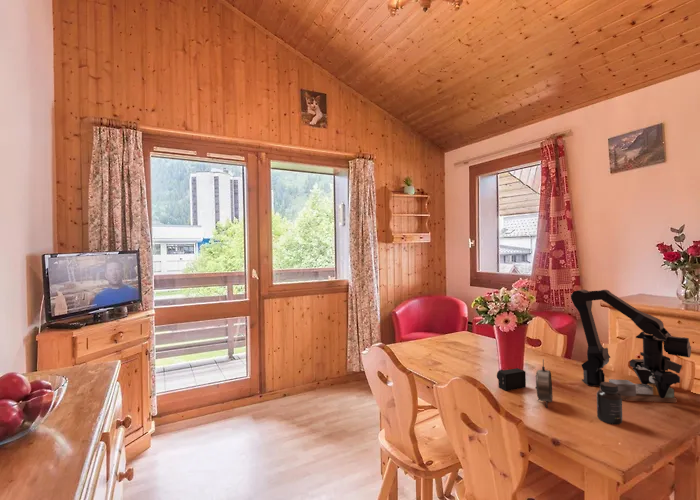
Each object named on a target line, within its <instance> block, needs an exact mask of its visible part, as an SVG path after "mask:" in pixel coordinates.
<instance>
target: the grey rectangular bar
mask: <svg viewBox="0 0 700 500" xmlns="http://www.w3.org/2000/svg"><path fill="white" fill-rule="evenodd" d="M634 384H635V385H636V394H651V395H659V393H658V390H657V388H656V385H655V384H642V383H634ZM670 388H671V387H670ZM670 388H669V389H670Z"/></svg>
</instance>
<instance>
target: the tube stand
mask: <svg viewBox="0 0 700 500" xmlns="http://www.w3.org/2000/svg"><path fill="white" fill-rule="evenodd" d="M608 382H611V383H614V384H616V385H618V392H617V393H619V394H620V395H621V397H622V401H632V402H635V401H636V402H653V401H654V402H658V403H660V402H661V403H675V404H676V403H677V402H678V401H677V398H676V397H675V389H674V388H672V387H671V386H670V387H669V388H670V389H668V391H667V393H666V395H665V397H664V398H660V396H659V395H651V394H636V385H635V384H636V383H633V382H632V381H630V380H628V379H608Z"/></svg>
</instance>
